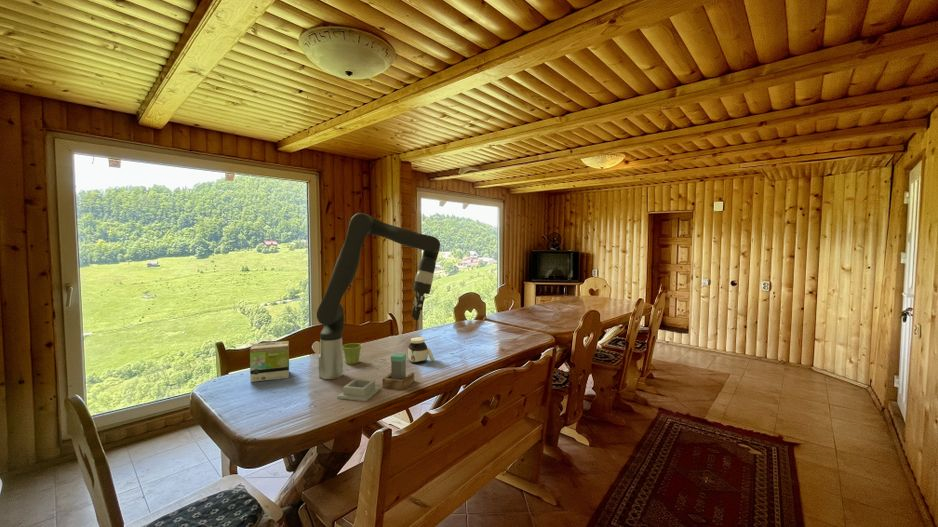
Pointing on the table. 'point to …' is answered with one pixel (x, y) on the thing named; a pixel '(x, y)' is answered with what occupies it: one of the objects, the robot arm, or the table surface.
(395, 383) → the cradle
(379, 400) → the table surface
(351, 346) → the plant pot
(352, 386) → the port block
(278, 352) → the tea box
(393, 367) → the plug
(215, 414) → the table surface
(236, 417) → the table surface
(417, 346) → the spread jar
